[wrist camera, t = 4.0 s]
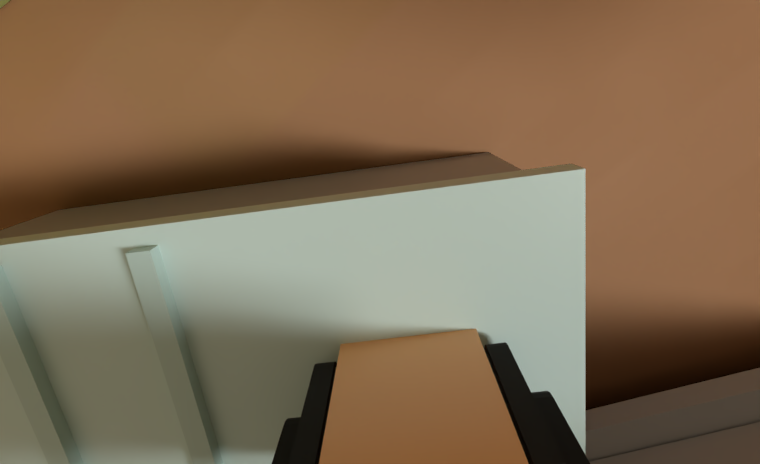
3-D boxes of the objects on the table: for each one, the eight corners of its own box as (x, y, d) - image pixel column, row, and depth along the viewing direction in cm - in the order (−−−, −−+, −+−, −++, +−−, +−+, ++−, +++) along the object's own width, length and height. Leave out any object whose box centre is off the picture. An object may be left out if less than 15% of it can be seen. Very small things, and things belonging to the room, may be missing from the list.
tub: (488, 152, 18) (551, 186, 11) (502, 366, 21) (558, 497, 14) (59, 209, 19) (-125, 273, 12) (130, 407, 21) (14, 548, 15)
